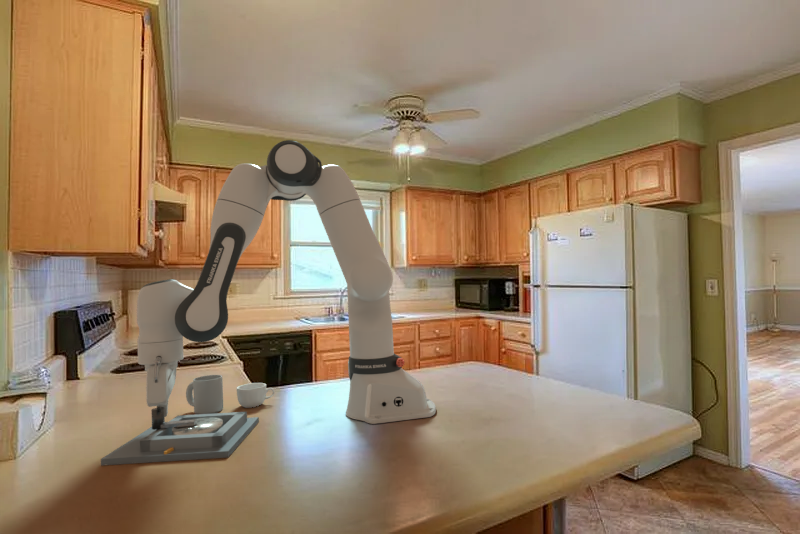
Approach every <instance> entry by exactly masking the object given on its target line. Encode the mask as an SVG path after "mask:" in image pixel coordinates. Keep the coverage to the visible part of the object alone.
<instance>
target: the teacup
mask: <svg viewBox="0 0 800 534" xmlns="http://www.w3.org/2000/svg"><path fill="white" fill-rule="evenodd" d="M270 390H271V391H272V394H271V395H268V396H267V394H268V392H269V391H270ZM274 395H275V389H274V388H273V387H268V388H267V384H266V383H263V382H252V383H251V382H250V383H245V384H241V385H239V386H236V396H237V397H236V398H237V402H238V404H239V405H240V406H241V407H242V408H245V409H252V407H253V408H257V407H260V406H261V405H262V404H263V403H264V402H265V400H267V399H271V398H272V397H273V396H274ZM259 405H260V406H259ZM256 406H257V407H256Z"/></svg>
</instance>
